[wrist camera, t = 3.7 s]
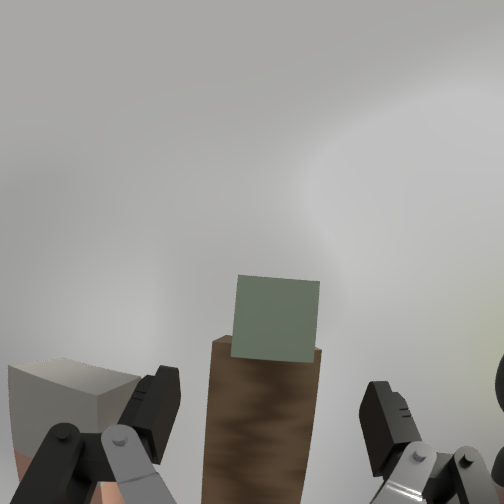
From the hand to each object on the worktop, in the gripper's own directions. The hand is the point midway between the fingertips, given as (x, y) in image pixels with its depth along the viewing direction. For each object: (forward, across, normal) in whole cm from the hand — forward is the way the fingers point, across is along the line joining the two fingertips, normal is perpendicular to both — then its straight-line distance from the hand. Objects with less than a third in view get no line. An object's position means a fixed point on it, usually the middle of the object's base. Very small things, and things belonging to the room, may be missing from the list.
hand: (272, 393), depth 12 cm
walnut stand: (-2, 0, +34) cm, 34 cm away
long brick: (+12, 0, +6) cm, 13 cm away
